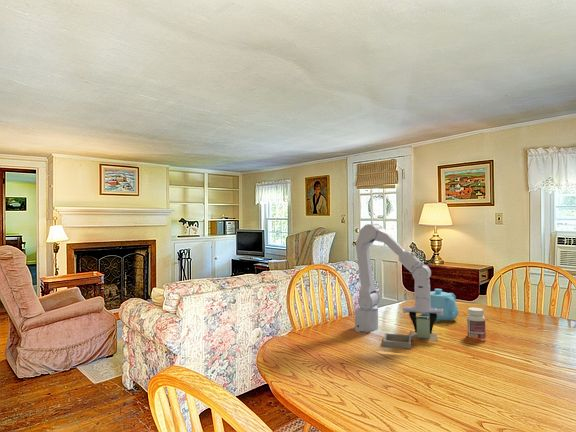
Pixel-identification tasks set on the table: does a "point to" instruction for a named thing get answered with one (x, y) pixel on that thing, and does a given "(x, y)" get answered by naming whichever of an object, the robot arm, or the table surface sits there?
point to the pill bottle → (476, 324)
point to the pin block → (432, 338)
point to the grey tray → (397, 344)
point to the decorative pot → (443, 305)
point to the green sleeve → (423, 327)
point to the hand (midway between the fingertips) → (423, 332)
